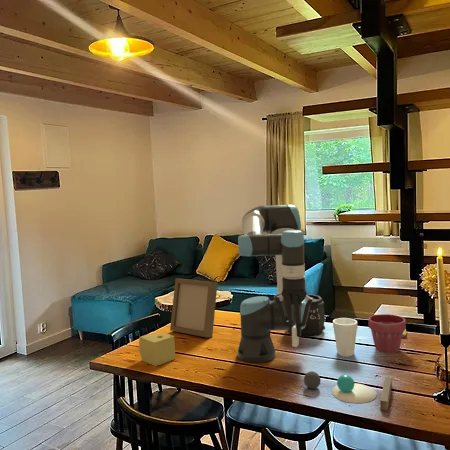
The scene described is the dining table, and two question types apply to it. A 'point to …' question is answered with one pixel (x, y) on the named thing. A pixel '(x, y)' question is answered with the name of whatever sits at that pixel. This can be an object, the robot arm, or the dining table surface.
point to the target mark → (355, 394)
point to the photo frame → (194, 307)
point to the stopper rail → (386, 394)
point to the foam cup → (345, 335)
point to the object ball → (345, 383)
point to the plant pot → (387, 332)
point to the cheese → (157, 348)
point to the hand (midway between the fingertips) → (295, 345)
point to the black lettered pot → (314, 318)
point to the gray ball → (312, 380)
